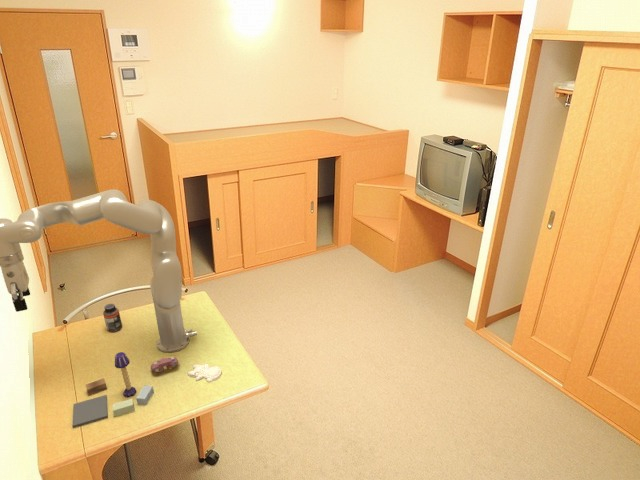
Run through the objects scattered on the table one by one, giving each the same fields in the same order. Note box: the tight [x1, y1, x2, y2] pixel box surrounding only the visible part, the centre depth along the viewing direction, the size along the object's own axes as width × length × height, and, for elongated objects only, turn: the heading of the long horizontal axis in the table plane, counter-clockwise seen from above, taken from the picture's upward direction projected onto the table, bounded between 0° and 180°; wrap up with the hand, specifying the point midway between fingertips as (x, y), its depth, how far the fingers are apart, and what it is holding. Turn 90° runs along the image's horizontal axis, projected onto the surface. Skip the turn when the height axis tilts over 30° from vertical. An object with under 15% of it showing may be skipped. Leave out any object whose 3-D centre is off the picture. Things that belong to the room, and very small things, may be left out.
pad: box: [71, 394, 109, 429], centre depth 145 cm, size 10×10×1 cm
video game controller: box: [150, 356, 179, 373], centre depth 163 cm, size 10×5×7 cm, turn 118°
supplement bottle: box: [102, 303, 123, 333], centre depth 184 cm, size 6×6×11 cm
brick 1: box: [85, 377, 108, 397], centre depth 154 cm, size 6×3×3 cm, turn 125°
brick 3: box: [135, 385, 155, 406], centre depth 150 cm, size 6×3×3 cm, turn 174°
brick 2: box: [112, 398, 135, 418], centre depth 145 cm, size 6×3×3 cm, turn 115°
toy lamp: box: [114, 351, 137, 398], centre depth 150 cm, size 5×5×17 cm
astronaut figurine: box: [187, 363, 223, 383], centre depth 162 cm, size 9×12×3 cm
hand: (23, 302), depth 148 cm, fingers open, 9 cm apart
